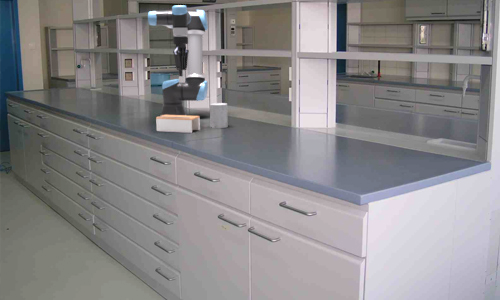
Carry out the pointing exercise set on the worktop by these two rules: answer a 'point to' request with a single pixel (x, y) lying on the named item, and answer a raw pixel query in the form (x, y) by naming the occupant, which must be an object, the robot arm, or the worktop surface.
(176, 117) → the duct cover
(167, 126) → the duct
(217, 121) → the grey concrete cylinder
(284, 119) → the worktop surface
